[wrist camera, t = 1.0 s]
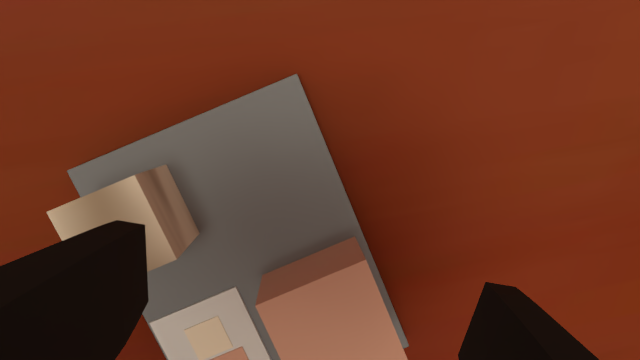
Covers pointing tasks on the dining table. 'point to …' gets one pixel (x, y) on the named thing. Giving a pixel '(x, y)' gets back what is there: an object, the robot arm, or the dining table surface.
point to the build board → (241, 198)
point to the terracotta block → (327, 308)
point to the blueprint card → (211, 330)
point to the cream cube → (135, 213)
